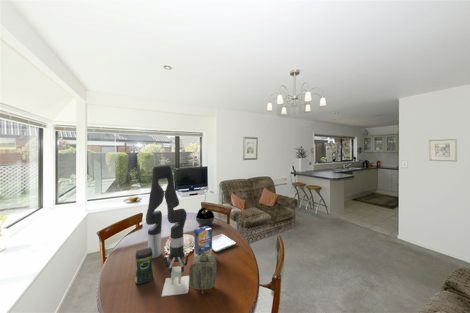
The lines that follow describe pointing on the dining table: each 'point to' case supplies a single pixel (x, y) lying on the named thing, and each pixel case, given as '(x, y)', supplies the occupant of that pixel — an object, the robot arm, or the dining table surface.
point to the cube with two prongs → (176, 274)
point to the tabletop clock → (202, 271)
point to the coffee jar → (143, 265)
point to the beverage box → (203, 240)
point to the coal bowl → (205, 217)
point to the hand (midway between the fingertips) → (176, 272)
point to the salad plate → (221, 242)
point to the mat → (176, 286)
